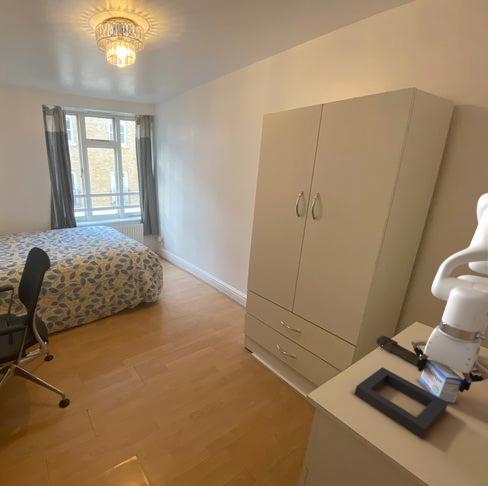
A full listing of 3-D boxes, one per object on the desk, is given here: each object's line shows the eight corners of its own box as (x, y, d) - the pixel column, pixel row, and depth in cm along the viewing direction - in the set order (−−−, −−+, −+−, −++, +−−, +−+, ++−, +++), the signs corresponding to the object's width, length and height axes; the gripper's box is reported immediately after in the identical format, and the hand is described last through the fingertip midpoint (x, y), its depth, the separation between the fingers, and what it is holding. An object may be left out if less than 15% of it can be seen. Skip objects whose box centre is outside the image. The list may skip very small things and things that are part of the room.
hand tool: (441, 375, 91) (445, 363, 89) (434, 378, 89) (438, 367, 88) (380, 342, 108) (383, 331, 106) (373, 344, 106) (376, 334, 105)
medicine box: (418, 381, 88) (426, 358, 86) (434, 382, 88) (442, 360, 85) (437, 401, 81) (446, 377, 79) (455, 403, 80) (464, 379, 78)
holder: (380, 375, 91) (382, 367, 90) (445, 411, 78) (448, 402, 77) (354, 394, 83) (356, 385, 83) (421, 438, 70) (424, 429, 69)
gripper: (508, 342, 73) (486, 394, 78) (424, 312, 87) (410, 358, 92) (500, 351, 69) (478, 405, 74) (414, 319, 84) (400, 366, 88)
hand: (440, 379), depth 83 cm, fingers closed on medicine box, 8 cm apart
